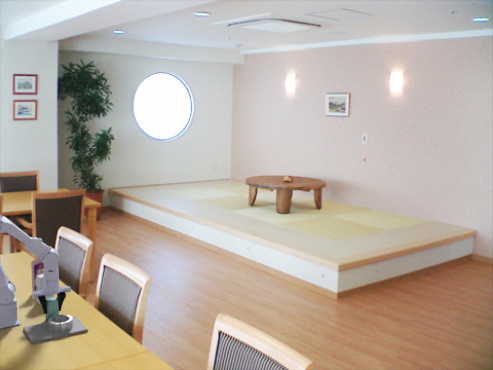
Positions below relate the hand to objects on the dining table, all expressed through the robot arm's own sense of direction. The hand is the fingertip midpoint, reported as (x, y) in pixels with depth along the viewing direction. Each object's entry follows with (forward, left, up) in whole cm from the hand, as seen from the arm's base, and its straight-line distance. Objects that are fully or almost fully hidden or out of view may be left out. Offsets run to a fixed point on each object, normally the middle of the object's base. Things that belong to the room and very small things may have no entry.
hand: (52, 311), depth 210 cm
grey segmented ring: (0, -12, -2) cm, 12 cm away
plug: (0, 0, -3) cm, 3 cm away
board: (-2, -12, -3) cm, 12 cm away
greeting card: (+4, +36, -3) cm, 36 cm away
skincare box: (+2, +19, -3) cm, 19 cm away
